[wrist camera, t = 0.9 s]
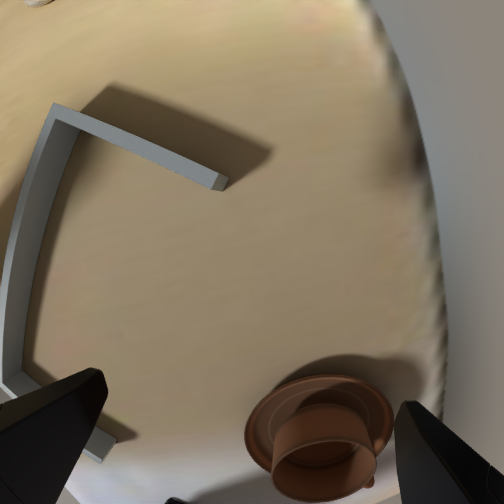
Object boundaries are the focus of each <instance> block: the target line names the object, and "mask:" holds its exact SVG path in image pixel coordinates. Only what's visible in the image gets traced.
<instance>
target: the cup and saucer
mask: <svg viewBox="0 0 504 504" xmlns="http://www.w3.org/2000/svg"><path fill="white" fill-rule="evenodd" d="M393 426H394V414H393V410H392V407H391V405H390V403H389V401H388V400H387V398H386V397H385V396H384V395H383V394H382V393H381V392H380V391H379V390H378V389H377V388H376V387H374V386H373V385H371V384H369V383H368V382H366V381H363V380H361V379H358V378H355V377H351V376H345V375H335V374H324V375H315V376H309V377H305V378H301V379H297V380H294V381H292V382H289V383H287V384H284V385H282V386H280V387H279V388H277V389H275V390H274V391H272V392H271V393H269V394H268V395H267V396H265V397H264V398H263V399H262V400H261V401H260V402H259V403H258V404H257V405H256V407H255V408H254V409H253V411H252V413H251V414H250V416H249V418H248V420H247V423H246V426H245V432H244V440H245V445H246V448H247V450H248V452H249V454H250V456H251V457H252V459H253V460H254V461H255V462H256V463H257V464H258V465H259V466H260V467H261V468H263V469H264V470H266V471H267V472H269V473H271V480H272V483H273V485H274V487H275V488H276V489H277V490H278V491H279V492H280V493H281V494H283V495H284V496H286V497H288V498H290V499H293V500H297V501H301V502H309V503H321V502H329V501H334V500H338V499H341V498H344V497H347V496H349V495H351V494H353V493H355V492H356V491H358V490H360V489H361V488H362V487H364V488H371V487H372V486H373V485H374V476H373V475H374V473H375V471H376V466H377V461H376V457H377V456H378V455H379V454H380V453H381V451H382V450H383V449H384V448H385V446H386V445H387V443H388V441H389V439H390V437H391V434H392V431H393Z"/></svg>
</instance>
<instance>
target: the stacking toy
mask: <svg viewBox="0 0 504 504" xmlns="http://www.w3.org/2000/svg"><path fill="white" fill-rule="evenodd" d="M50 1H52V0H24V3H25V4H26V5H27V6H29V7H39V6H42V5H45V4H47V3H49V2H50Z"/></svg>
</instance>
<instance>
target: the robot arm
mask: <svg viewBox="0 0 504 504" xmlns="http://www.w3.org/2000/svg"><path fill="white" fill-rule="evenodd" d="M107 396H108V387H107V384H106V381H105V377H104V374H103V372H102V371H101V370H99V369H96V368H87V369H85V370H83V371H80V372H78V373H76V374H73V375H71V376H69V377H66V378H64V379H61V380H59V381H57V382H54V383H52V384H49V385H47V386H44V387H42V388H39V389H37V390H35V391H32V392H30V393H27V394H25V395H22V396H20V397H17V398H14V399H12V400H10V401H7V402H4V404H3V403H2V404H0V504H55V503H56V502H57V500H58V498H59V496H60V494H61V491H62V490H63V488H64V486H65V484H66V482H67V480H68V478H69V476H70V474H71V472H72V470H73V468H74V466H75V465H76V463H77V461H78V459H79V457H80V455H81V453H82V451H83V449H84V448H85V446H86V444H87V442H88V440H89V438H90V436H91V434H92V432H93V430H94V428H95V426H96V423H97V421H98V418H99V416H100V413H101V411H102V408H103V406H104V404H105V401H106V399H107ZM394 435H395V449H396V466H397V475H398V481H399V487H400V494H401V500H402V504H504V475H503V474H501V473H500V472H499V471H498V470H497V469H495V468H494V467H493V466H492V465H491V466H490V463H488V462H487V461H486V460H485V459H484V458H483V457H481V456H480V455H479V454H478V453H477V452H476V451H474V450H473V449H472V448H471V447H470V446H469V445H468V444H466V443H465V442H464V441H463V440H462V439H461V438H459V437H458V436H457V435H456V434H455V433H454V432H453V431H451V430H450V429H449V428H448V427H447V426H445V425H444V424H443V423H442V422H441V421H440V420H439V419H437V418H436V417H435V416H434V415H433V414H432V413H431V412H429V411H428V410H427V409H426V408H425V407H424V406H423V405H421V404H420V403H419V402H418V401H416V400H412V401H404V402H403V403H402V404H401V407H400V409H399V412H398V414H397V416H396V419H395V422H394ZM165 504H181V503H179V502H177V501H174V500H172V499H168V500H167V501H166V502H165Z"/></svg>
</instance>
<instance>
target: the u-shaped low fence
mask: <svg viewBox="0 0 504 504" xmlns="http://www.w3.org/2000/svg"><path fill="white" fill-rule="evenodd" d="M80 130H84V131H86V132H88V133H91V134H93V135H95V136H97V137H100V138H102V139H104V140H106V141H109V142H111V143H113V144H115V145H117V146H120V147H122V148H124V149H126V150H128V151H131V152H133V153H135V154H137V155H139V156H142V157H144V158H146V159H148V160H150V161H152V162H154V163H157V164H159V165H161V166H163V167H165V168H167V169H169V170H171V171H174V172H176V173H178V174H180V175H182V176H184V177H186V178H188V179H190V180H192V181H194V182H196V183H199V184H201V185H203V186H205V187H207V188H209V189H211V190H217V191H223V190H224V188H225V186H226V184H227V182H228V180H229V178H228V177H226V176H224V175H222V174H220V173H218V172H216V171H214V170H211V169H209V168H207V167H205V166H203V165H201V164H199V163H197V162H194V161H192V160H190V159H188V158H186V157H184V156H181V155H179V154H177V153H175V152H173V151H170V150H168V149H166V148H164V147H161V146H159V145H157V144H155V143H152V142H150V141H148V140H145V139H143V138H141V137H138V136H136V135H134V134H131V133H129V132H127V131H124V130H122V129H120V128H117V127H115V126H112V125H110V124H108V123H105V122H103V121H100V120H98V119H95V118H93V117H90V116H88V115H85V114H83V113H80V112H78V111H75V110H72V109H70V108H67V107H64V106H62V105H59V104H56V103H53V104H52V107H51V109H50V111H49V113H48V116H47V118H46V120H45V123H44V125H43V128H42V130H41V133H40V135H39V138H38V140H37V143H36V146H35V148H34V151H33V154H32V157H31V159H30V162H29V165H28V168H27V171H26V175H25V178H24V181H23V184H22V188H21V191H20V194H19V198H18V202H17V205H16V209H15V213H14V217H13V222H12V226H11V230H10V235H9V240H8V245H7V250H6V255H5V261H4V267H3V274H2V281H1V289H0V387H1V388H2V389H3V390H4V391H5V392H6V393H7V394H8V395H9V396H10V397H11V398H13V399H14V398H17V397H20V396H22V395H25V394H27V393H30V392H32V391H35V390H37V389H39V388H42V386H40V385H39V384H38V383H37V382H35V381H34V380H33V379H32V378H31V377H30V376H28V375H27V374H26V373H25V372H24V371H23V370H22V356H23V345H24V336H25V327H26V320H27V313H28V306H29V300H30V294H31V289H32V283H33V278H34V273H35V268H36V264H37V259H38V255H39V251H40V247H41V243H42V239H43V235H44V231H45V228H46V224H47V221H48V217H49V214H50V211H51V207H52V204H53V201H54V198H55V195H56V192H57V189H58V186H59V183H60V180H61V177H62V175H63V172H64V169H65V167H66V164H67V161H68V159H69V156H70V154H71V151H72V149H73V146H74V144H75V141H76V139H77V137H78V134H79V132H80ZM116 440H117V439H116V438H114V437H113V436H111V435H109V434H108V433H106V432H104V431H103V430H101V429H100V428H98V427H97V426H95V428H94V430H93V432H92V434H91V436H90V438H89V440H88V442H87V444H86V446H85V448H84V449H83V451H82V453H83V454H85V455H86V456H88V457H89V458H91V459H93V460H94V461H96V462H97V463H99V464H101V463H102V462H103V461H104V459H105V458H106V456H107V455H108V453H109V452H110V450H111V449H112V448H113V446H114V445H115V443H116Z"/></svg>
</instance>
